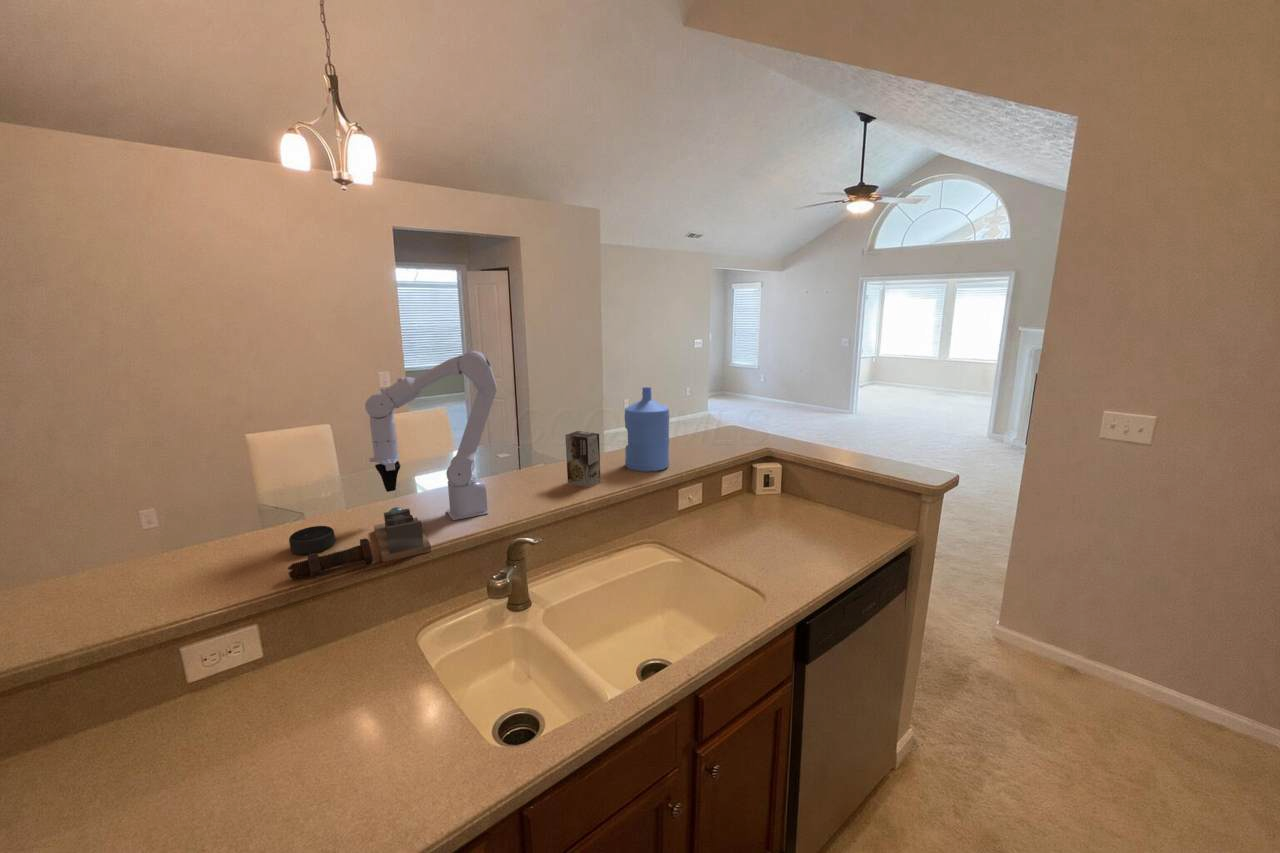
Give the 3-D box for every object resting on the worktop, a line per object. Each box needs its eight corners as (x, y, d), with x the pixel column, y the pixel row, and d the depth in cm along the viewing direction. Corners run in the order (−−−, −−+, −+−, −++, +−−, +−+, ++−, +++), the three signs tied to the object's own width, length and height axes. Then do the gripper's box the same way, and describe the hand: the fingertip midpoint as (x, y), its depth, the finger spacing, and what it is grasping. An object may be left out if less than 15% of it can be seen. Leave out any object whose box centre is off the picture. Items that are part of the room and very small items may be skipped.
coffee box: (601, 482, 167) (600, 433, 164) (589, 487, 162) (587, 437, 159) (579, 477, 172) (577, 430, 169) (566, 483, 167) (564, 434, 164)
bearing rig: (374, 530, 130) (371, 502, 129) (417, 522, 135) (414, 495, 134) (382, 562, 114) (379, 529, 112) (431, 551, 119) (428, 520, 117)
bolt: (292, 587, 107) (372, 565, 115) (290, 585, 103) (374, 561, 111) (286, 560, 108) (366, 539, 117) (285, 556, 104) (368, 535, 113)
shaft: (388, 524, 129) (386, 509, 129) (405, 521, 131) (403, 506, 131) (395, 546, 117) (393, 530, 116) (414, 542, 119) (413, 526, 118)
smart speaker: (281, 555, 118) (278, 539, 117) (310, 539, 126) (308, 523, 125) (316, 557, 116) (314, 541, 116) (344, 541, 125) (342, 525, 124)
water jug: (678, 465, 185) (678, 387, 179) (648, 475, 174) (647, 392, 168) (646, 458, 196) (645, 383, 190) (616, 466, 185) (614, 388, 179)
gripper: (364, 436, 137) (371, 485, 140) (369, 447, 125) (376, 501, 128) (394, 433, 141) (399, 481, 144) (401, 443, 129) (407, 496, 131)
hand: (390, 490), depth 136 cm, fingers closed
